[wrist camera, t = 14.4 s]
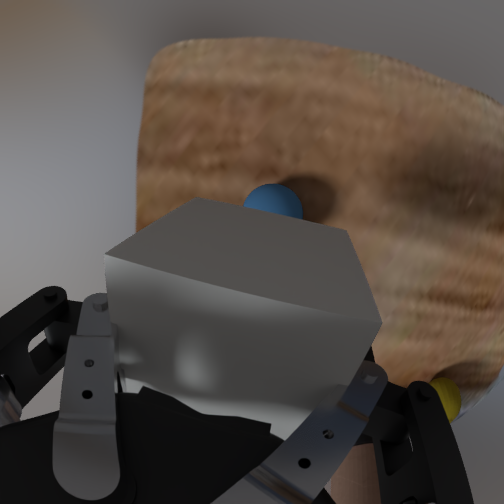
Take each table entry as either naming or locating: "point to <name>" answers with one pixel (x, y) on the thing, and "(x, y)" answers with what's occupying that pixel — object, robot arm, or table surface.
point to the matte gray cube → (240, 311)
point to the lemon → (448, 396)
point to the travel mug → (357, 475)
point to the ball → (275, 200)
